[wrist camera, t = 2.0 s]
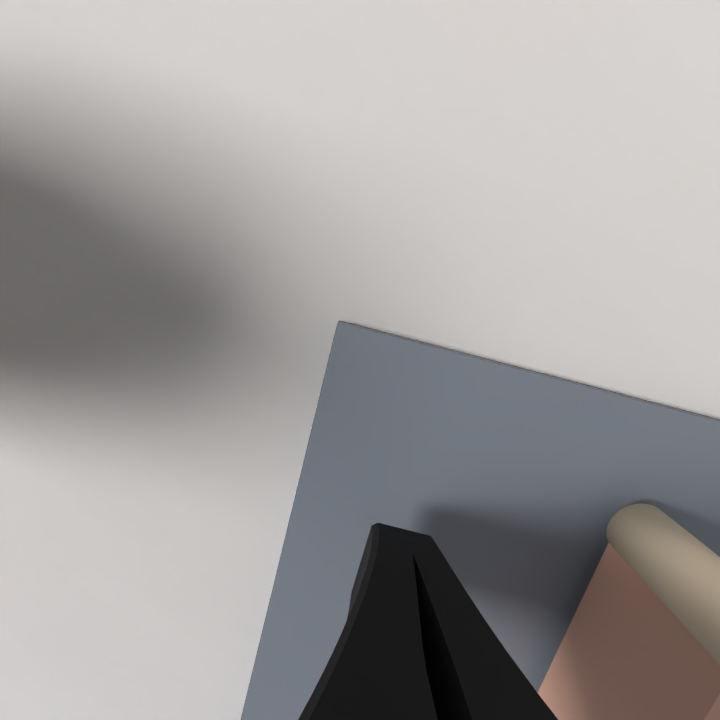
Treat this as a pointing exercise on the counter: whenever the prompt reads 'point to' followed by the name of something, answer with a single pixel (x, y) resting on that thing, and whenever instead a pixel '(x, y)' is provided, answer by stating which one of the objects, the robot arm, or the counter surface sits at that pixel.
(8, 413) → the counter surface
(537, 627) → the board
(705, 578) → the pink slab
